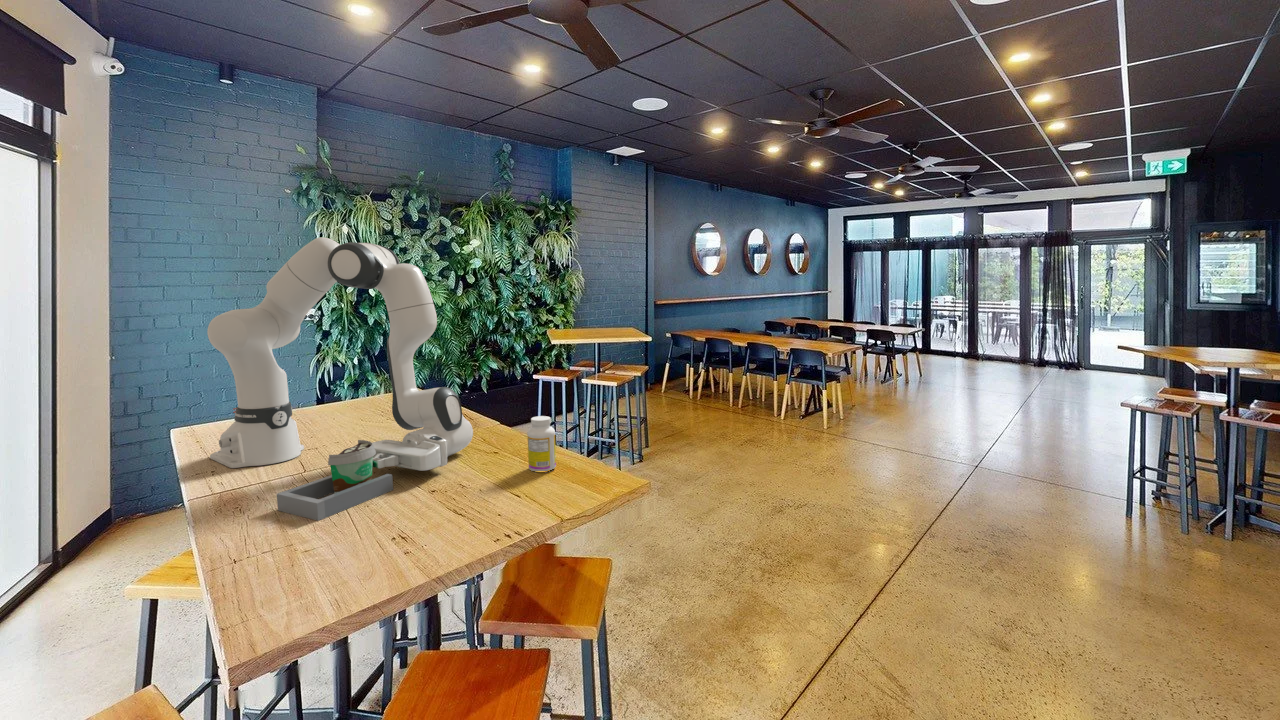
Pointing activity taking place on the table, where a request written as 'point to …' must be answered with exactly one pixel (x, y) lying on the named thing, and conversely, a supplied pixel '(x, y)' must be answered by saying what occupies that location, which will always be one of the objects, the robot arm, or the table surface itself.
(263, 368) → the robot arm
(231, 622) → the table surface
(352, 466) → the food container
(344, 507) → the grey rectangular tray
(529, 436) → the supplement bottle
